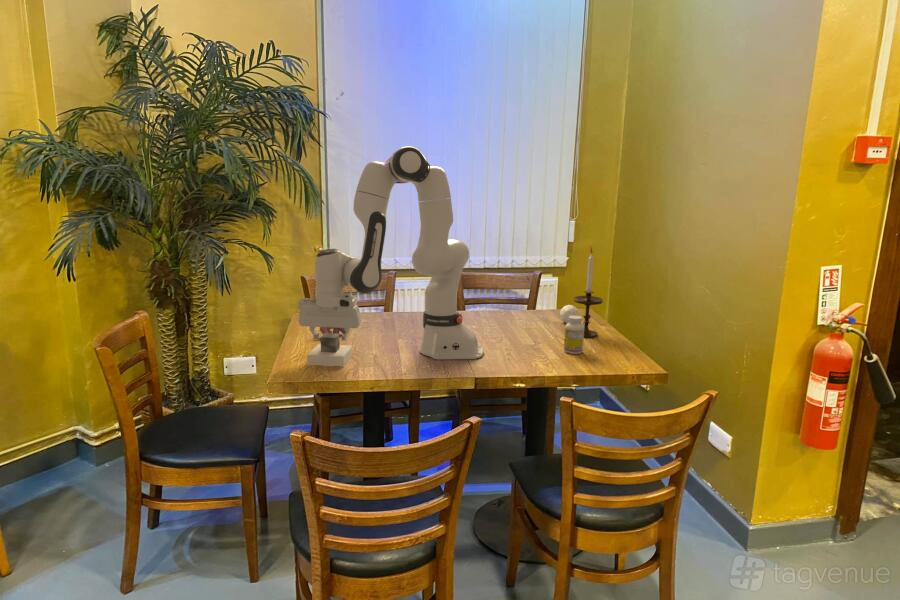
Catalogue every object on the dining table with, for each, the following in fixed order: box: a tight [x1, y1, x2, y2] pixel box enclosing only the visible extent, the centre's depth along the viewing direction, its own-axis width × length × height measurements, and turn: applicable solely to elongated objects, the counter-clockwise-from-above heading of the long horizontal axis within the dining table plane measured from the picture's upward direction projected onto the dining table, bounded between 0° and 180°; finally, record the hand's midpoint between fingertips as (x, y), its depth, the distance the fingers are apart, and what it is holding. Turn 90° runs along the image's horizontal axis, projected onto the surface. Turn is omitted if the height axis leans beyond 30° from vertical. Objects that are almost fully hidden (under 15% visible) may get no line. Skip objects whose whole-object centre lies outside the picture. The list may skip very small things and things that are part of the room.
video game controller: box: [319, 327, 346, 335], centre depth 239 cm, size 10×5×7 cm, turn 136°
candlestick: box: [573, 246, 603, 339], centre depth 244 cm, size 11×11×35 cm
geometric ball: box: [559, 304, 580, 324], centre depth 264 cm, size 8×8×8 cm
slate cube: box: [320, 332, 341, 353], centre depth 211 cm, size 5×5×5 cm
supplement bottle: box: [563, 315, 585, 355], centre depth 225 cm, size 7×7×13 cm
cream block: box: [306, 343, 354, 368], centre depth 212 cm, size 12×12×4 cm
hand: (330, 339), depth 211 cm, fingers open, 8 cm apart
